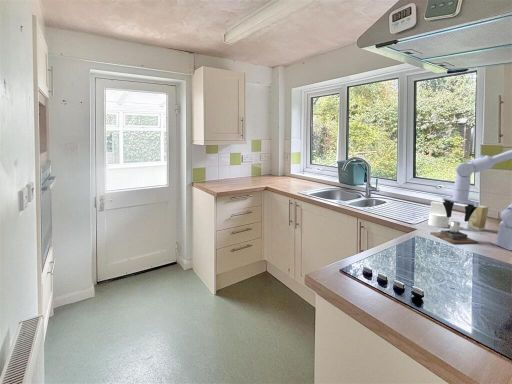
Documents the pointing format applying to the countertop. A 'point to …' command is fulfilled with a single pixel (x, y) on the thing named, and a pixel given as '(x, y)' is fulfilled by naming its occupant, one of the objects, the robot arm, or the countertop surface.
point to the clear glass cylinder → (454, 227)
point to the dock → (454, 237)
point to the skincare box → (478, 218)
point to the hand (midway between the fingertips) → (457, 219)
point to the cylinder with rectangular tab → (438, 215)
